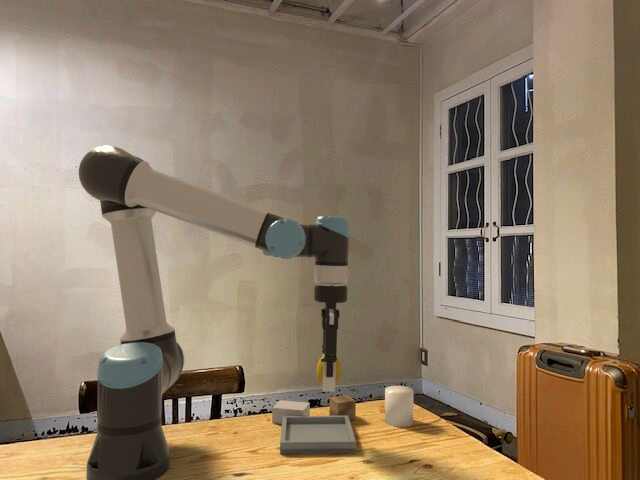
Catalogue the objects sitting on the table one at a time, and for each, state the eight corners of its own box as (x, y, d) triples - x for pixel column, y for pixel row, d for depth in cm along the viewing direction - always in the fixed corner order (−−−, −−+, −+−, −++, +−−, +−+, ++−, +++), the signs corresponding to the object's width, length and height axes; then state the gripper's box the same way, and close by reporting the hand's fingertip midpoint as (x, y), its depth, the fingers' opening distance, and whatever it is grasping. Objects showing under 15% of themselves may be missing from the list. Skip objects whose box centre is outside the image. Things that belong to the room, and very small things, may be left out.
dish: (280, 454, 100) (280, 442, 100) (282, 426, 116) (282, 416, 116) (355, 453, 101) (355, 441, 101) (348, 425, 117) (348, 415, 117)
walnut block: (337, 423, 118) (337, 403, 119) (329, 416, 123) (329, 397, 123) (355, 420, 120) (355, 400, 121) (346, 414, 125) (346, 395, 125)
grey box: (272, 423, 118) (272, 407, 118) (280, 415, 124) (280, 400, 124) (303, 426, 116) (303, 410, 116) (309, 418, 122) (309, 402, 122)
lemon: (341, 385, 110) (342, 350, 111) (339, 392, 105) (340, 355, 105) (317, 384, 111) (318, 349, 111) (314, 391, 105) (315, 354, 106)
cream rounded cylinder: (387, 427, 116) (387, 394, 116) (382, 417, 123) (382, 385, 123) (416, 427, 116) (416, 393, 116) (409, 416, 123) (409, 385, 123)
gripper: (351, 287, 99) (348, 400, 99) (344, 282, 118) (341, 376, 117) (315, 286, 99) (312, 399, 99) (313, 281, 118) (310, 375, 117)
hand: (328, 386), depth 108 cm, fingers closed on lemon, 5 cm apart
